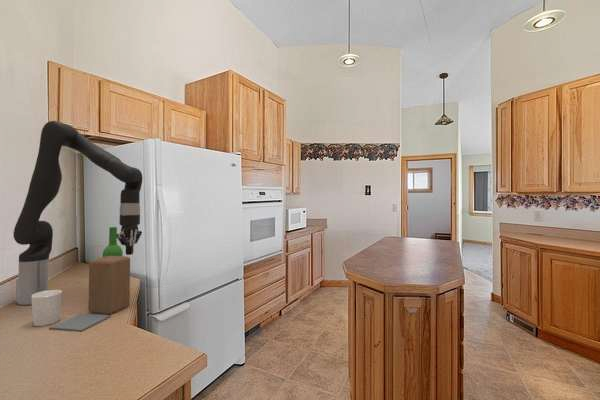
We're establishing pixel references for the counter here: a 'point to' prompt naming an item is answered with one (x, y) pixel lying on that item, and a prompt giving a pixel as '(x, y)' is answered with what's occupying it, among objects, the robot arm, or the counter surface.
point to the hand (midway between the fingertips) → (129, 254)
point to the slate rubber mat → (80, 322)
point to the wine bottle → (112, 244)
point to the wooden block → (109, 284)
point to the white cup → (46, 307)
